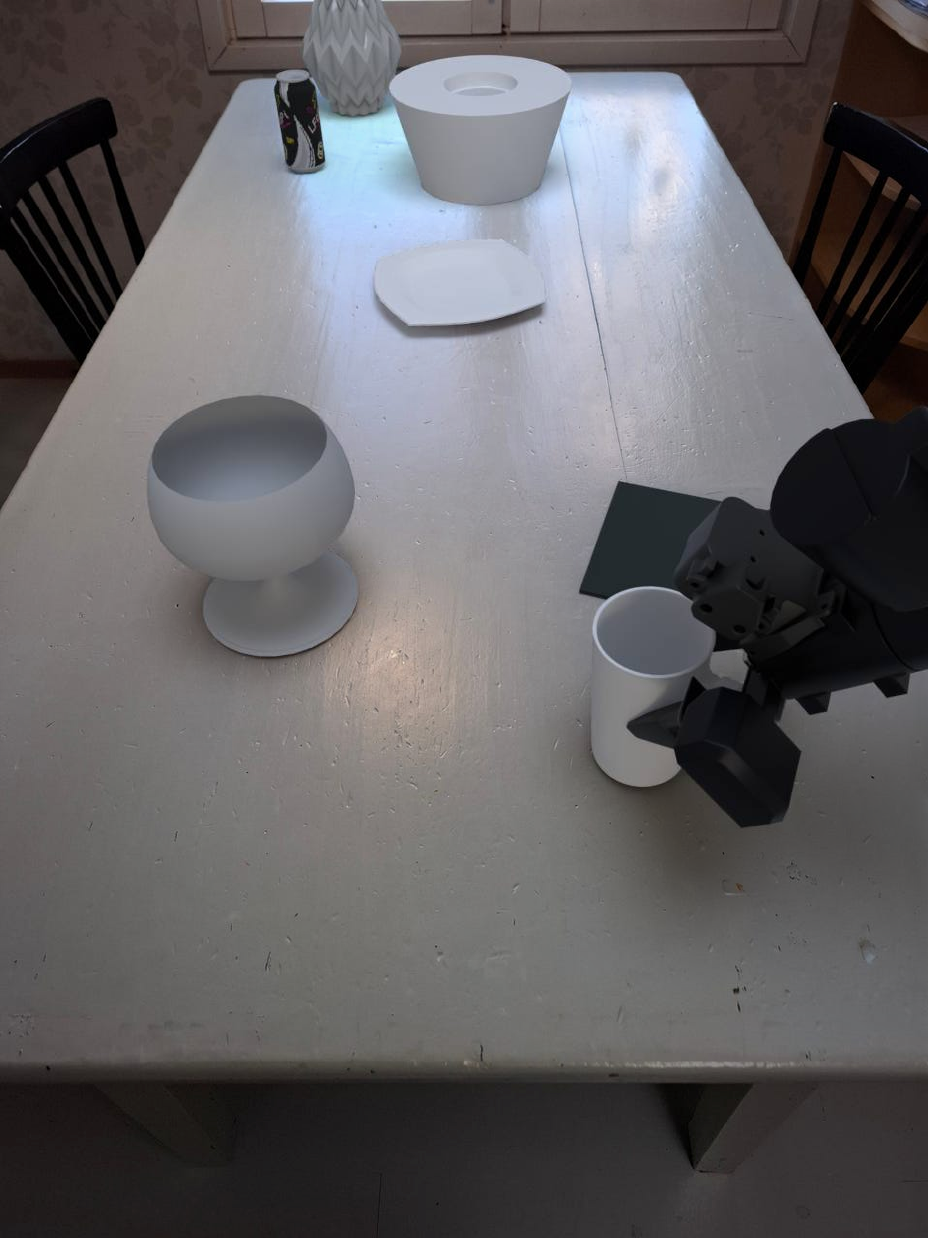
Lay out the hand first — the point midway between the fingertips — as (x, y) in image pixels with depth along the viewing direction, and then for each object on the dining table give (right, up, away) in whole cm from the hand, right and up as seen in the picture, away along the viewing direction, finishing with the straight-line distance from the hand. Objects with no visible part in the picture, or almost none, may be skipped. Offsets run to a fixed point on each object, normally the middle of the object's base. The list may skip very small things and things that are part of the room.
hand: (648, 686), depth 52 cm
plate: (-12, +42, +48) cm, 64 cm away
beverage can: (-34, +70, +74) cm, 107 cm away
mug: (+2, -5, +4) cm, 7 cm away
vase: (-29, +89, +90) cm, 129 cm away
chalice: (-26, +5, +16) cm, 31 cm away
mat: (+9, +9, +18) cm, 22 cm away
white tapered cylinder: (-9, +66, +69) cm, 96 cm away
